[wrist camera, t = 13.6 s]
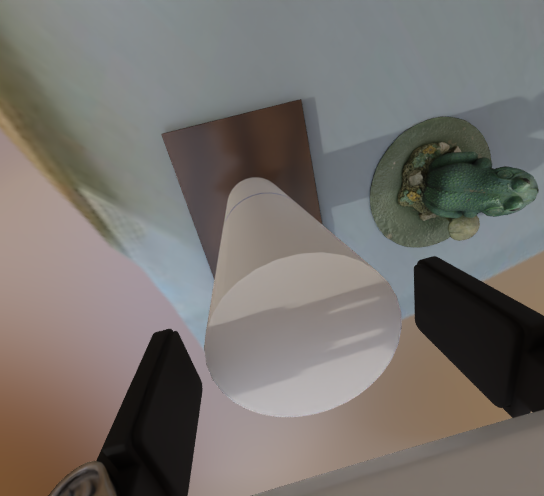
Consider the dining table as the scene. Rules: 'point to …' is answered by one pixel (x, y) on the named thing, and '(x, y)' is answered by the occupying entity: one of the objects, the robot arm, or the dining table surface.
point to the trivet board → (241, 164)
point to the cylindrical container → (293, 310)
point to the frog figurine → (443, 184)
